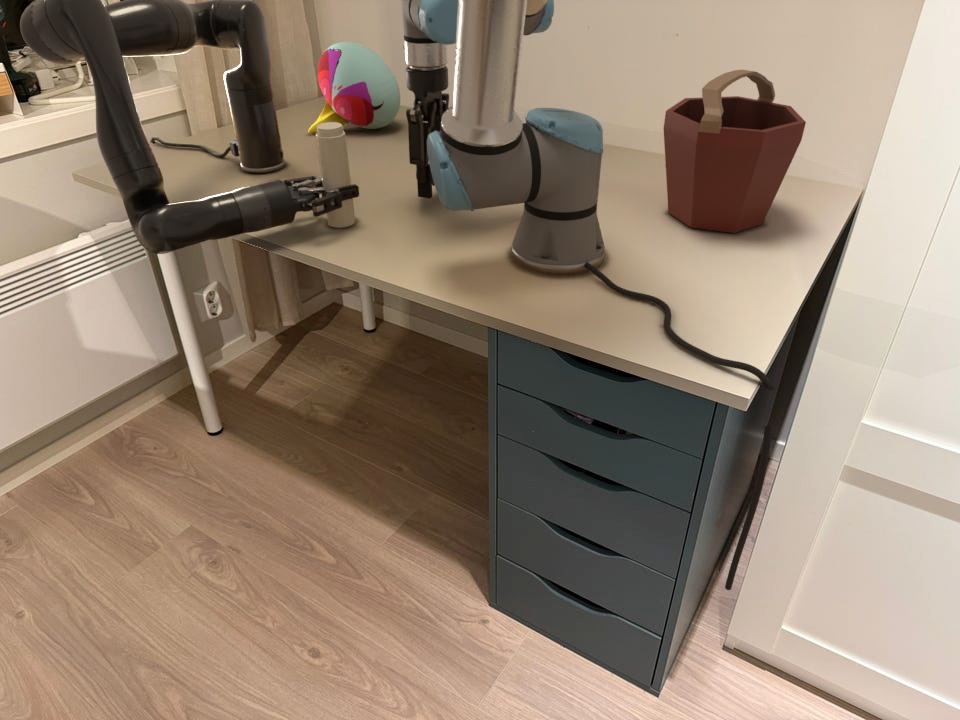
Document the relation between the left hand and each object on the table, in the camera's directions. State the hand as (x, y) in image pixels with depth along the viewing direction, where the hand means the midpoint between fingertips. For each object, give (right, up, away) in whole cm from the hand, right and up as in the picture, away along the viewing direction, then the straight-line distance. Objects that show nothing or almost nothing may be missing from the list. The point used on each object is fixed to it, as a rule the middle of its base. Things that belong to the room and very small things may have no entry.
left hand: (350, 185), depth 128 cm
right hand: (+14, +1, +10) cm, 17 cm away
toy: (-9, +28, +52) cm, 60 cm away
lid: (+14, +5, +8) cm, 17 cm away
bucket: (+67, -4, +4) cm, 67 cm away
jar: (-2, -6, +2) cm, 7 cm away
